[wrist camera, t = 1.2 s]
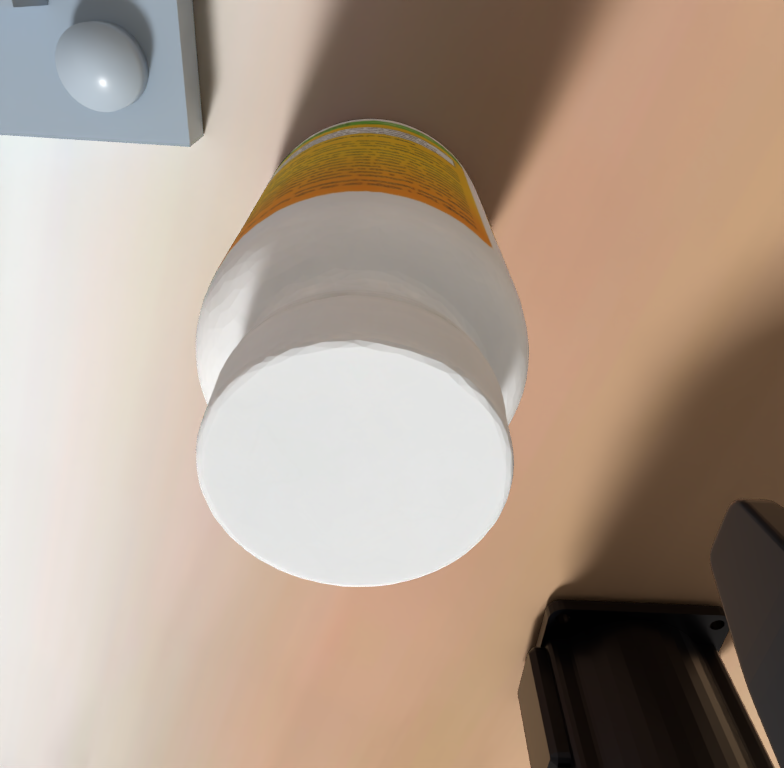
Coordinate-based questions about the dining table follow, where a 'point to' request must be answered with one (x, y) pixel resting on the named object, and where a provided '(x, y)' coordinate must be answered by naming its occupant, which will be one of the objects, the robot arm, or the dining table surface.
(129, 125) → the base plate
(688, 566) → the dining table surface
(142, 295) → the dining table surface
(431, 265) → the supplement bottle
